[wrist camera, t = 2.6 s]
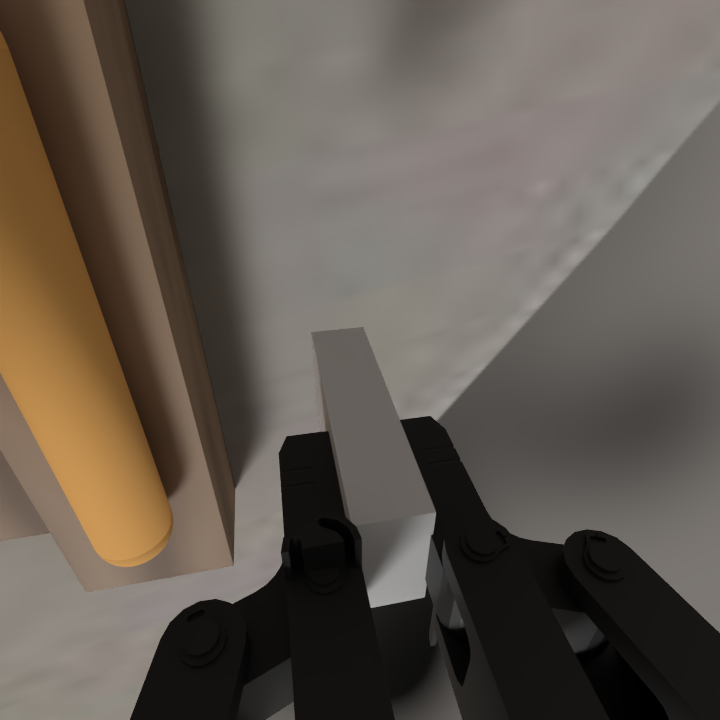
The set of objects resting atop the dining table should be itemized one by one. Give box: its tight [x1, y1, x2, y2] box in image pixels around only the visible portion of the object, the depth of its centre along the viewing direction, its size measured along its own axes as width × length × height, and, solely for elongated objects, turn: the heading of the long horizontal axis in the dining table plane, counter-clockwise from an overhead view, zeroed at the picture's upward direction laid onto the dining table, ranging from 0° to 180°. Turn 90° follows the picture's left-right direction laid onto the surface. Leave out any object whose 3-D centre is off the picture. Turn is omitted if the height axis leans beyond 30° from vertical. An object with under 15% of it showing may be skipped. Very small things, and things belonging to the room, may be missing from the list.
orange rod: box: [0, 31, 173, 567], centre depth 14 cm, size 3×19×3 cm, turn 0°
